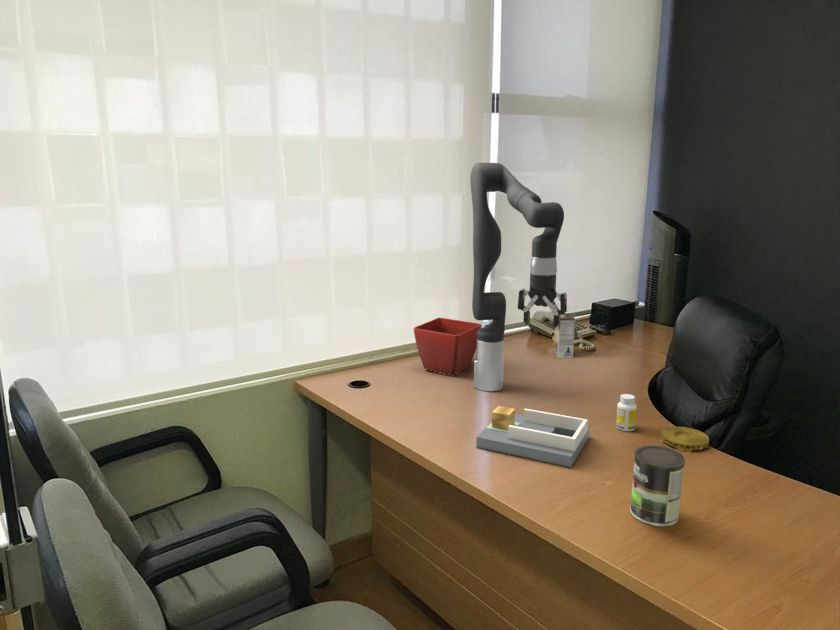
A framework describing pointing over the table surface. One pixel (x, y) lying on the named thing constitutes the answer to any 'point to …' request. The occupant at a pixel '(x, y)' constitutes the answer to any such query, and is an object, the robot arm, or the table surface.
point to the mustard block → (503, 417)
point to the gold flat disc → (685, 438)
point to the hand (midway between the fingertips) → (541, 325)
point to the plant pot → (446, 344)
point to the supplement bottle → (626, 413)
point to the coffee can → (657, 485)
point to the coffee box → (564, 336)
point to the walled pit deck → (539, 437)
